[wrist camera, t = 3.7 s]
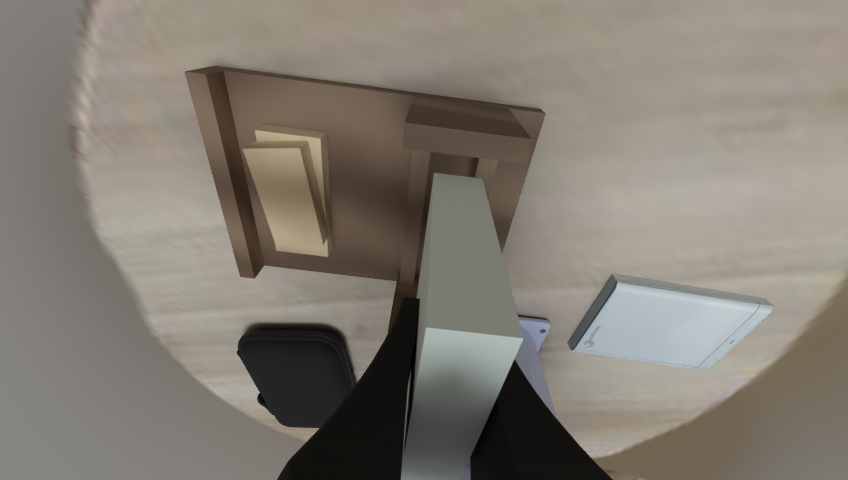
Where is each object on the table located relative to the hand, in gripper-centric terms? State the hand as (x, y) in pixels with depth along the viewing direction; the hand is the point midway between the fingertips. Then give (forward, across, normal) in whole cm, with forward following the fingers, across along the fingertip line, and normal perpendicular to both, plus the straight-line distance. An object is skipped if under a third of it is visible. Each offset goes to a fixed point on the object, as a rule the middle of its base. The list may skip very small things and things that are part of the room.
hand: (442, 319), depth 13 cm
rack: (+10, +4, 0) cm, 11 cm away
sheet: (+4, 0, 0) cm, 4 cm away
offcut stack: (+9, +9, 0) cm, 13 cm away
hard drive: (+11, -20, +9) cm, 24 cm away
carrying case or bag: (+11, +11, +22) cm, 26 cm away
